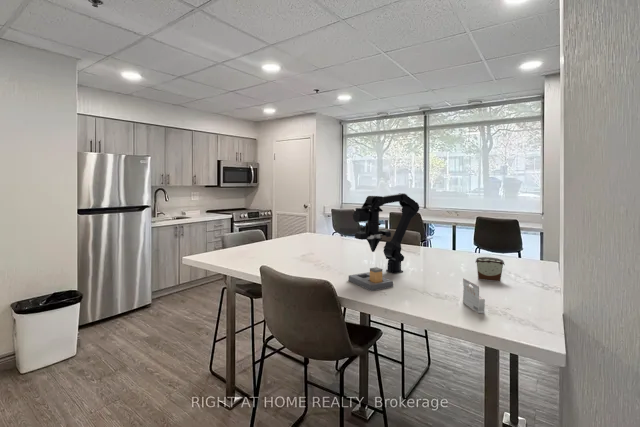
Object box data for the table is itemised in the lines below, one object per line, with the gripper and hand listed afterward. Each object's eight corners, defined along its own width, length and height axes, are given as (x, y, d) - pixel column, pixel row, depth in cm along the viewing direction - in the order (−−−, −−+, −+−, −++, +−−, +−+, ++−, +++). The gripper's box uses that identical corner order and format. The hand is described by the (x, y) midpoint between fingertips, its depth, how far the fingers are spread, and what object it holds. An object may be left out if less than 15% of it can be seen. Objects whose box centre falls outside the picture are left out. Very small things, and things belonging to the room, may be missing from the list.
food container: (502, 278, 158) (503, 258, 158) (504, 282, 153) (504, 260, 152) (474, 275, 164) (475, 256, 163) (474, 279, 158) (475, 258, 157)
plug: (376, 284, 151) (376, 267, 151) (382, 286, 148) (382, 269, 147) (369, 285, 149) (369, 268, 149) (375, 288, 146) (375, 270, 145)
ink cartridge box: (468, 302, 127) (469, 277, 126) (484, 313, 116) (485, 286, 115) (462, 302, 127) (462, 277, 126) (478, 313, 116) (478, 286, 115)
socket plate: (368, 277, 163) (368, 272, 163) (392, 286, 147) (393, 281, 147) (348, 280, 158) (348, 275, 157) (371, 291, 142) (371, 285, 142)
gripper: (378, 218, 176) (377, 247, 177) (348, 220, 167) (348, 250, 169) (391, 220, 166) (391, 250, 167) (361, 222, 157) (361, 254, 159)
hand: (373, 251), depth 166 cm, fingers closed
